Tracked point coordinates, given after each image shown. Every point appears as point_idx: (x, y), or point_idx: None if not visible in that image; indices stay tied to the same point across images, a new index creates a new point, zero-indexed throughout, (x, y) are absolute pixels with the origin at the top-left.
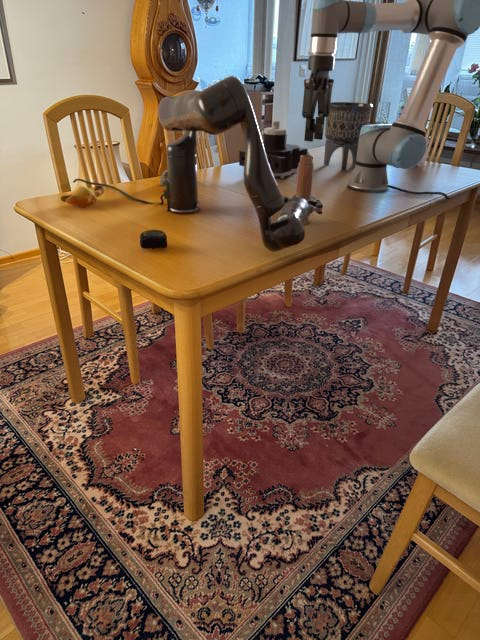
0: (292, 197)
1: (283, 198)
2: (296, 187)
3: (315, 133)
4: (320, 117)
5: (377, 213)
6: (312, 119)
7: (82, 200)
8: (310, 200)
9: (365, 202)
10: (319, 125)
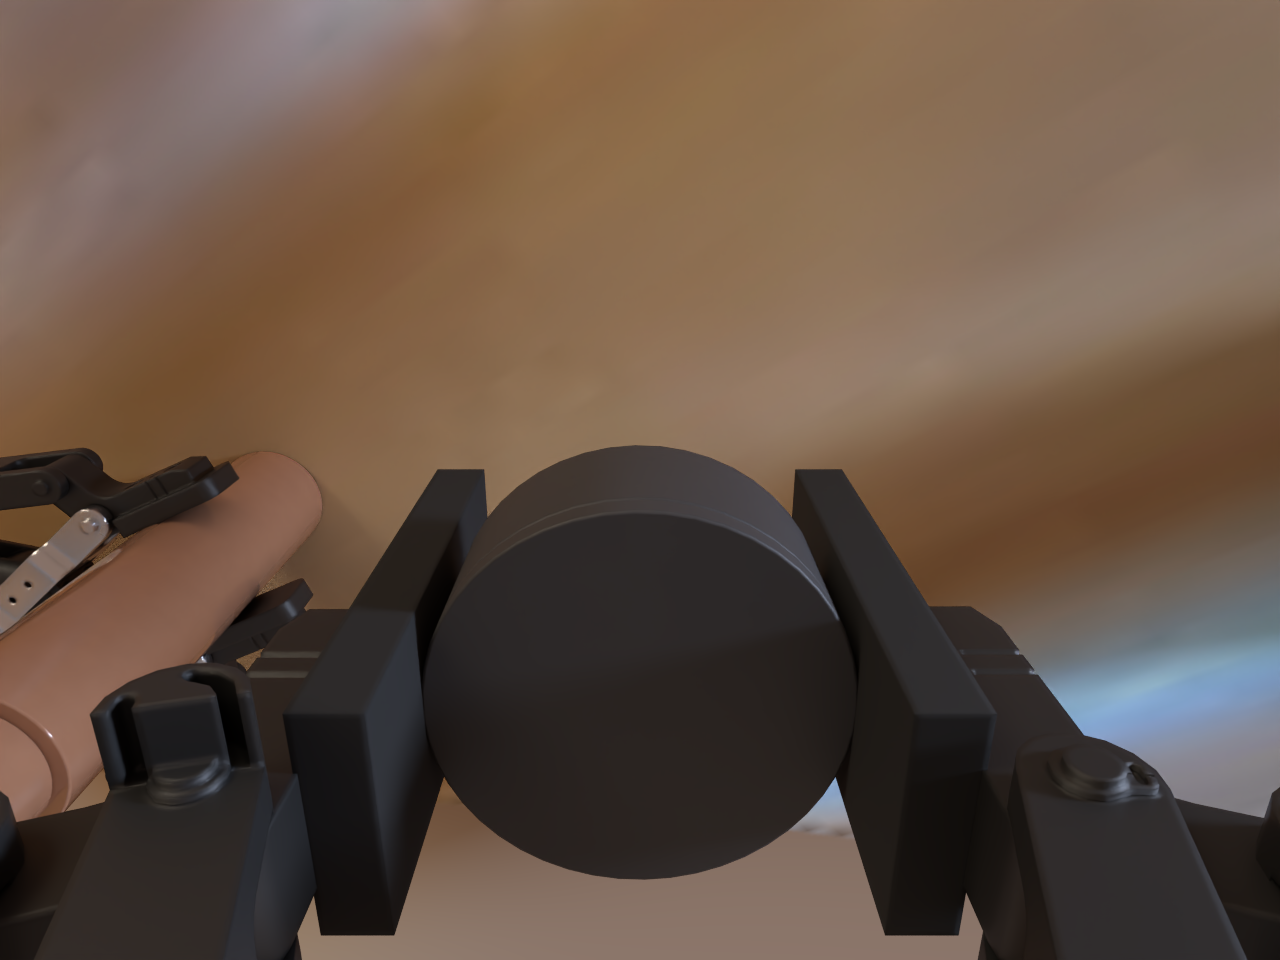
0: (84, 533)
1: (1, 489)
2: (87, 569)
3: (813, 534)
4: (891, 850)
5: None
6: (324, 883)
7: None
8: None
9: (1058, 602)
10: (558, 860)
